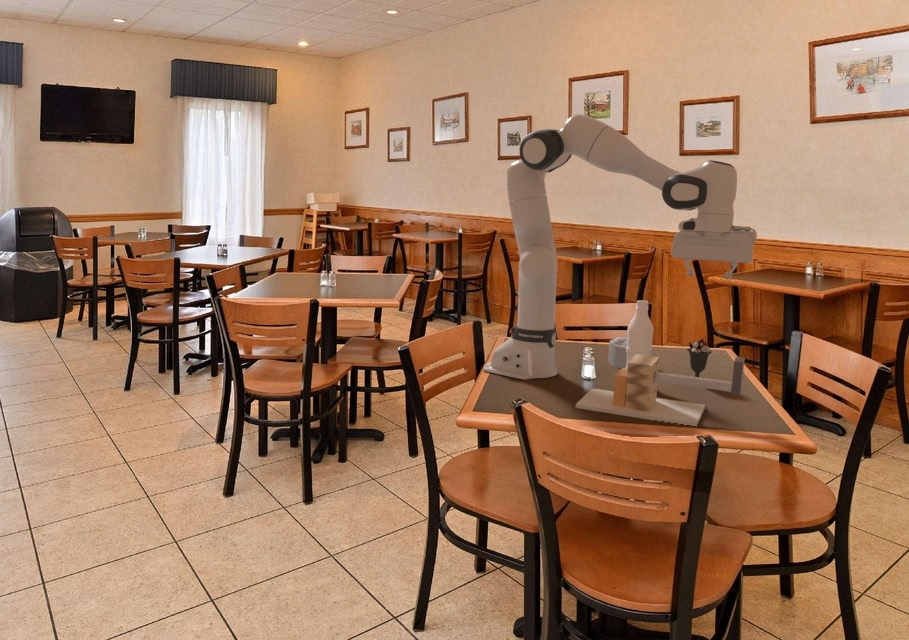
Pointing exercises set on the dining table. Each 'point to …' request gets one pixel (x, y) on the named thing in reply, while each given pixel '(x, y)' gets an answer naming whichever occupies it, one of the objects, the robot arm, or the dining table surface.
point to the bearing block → (641, 382)
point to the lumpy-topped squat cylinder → (618, 352)
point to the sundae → (699, 355)
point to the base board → (659, 411)
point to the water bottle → (639, 332)
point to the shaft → (705, 382)
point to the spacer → (620, 388)
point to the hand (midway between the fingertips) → (708, 277)
